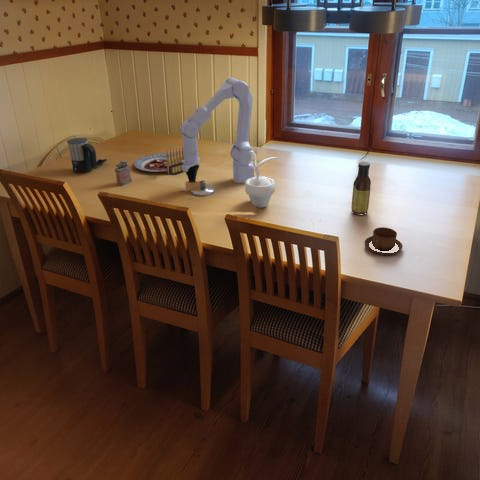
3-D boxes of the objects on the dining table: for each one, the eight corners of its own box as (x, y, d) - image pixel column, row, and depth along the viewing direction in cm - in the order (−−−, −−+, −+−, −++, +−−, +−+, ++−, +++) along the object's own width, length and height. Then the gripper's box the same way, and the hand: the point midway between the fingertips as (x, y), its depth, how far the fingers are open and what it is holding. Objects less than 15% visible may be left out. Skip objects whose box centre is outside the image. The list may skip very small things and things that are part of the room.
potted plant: (243, 210, 185) (242, 147, 174) (247, 198, 196) (246, 138, 184) (276, 211, 184) (277, 148, 172) (278, 200, 194) (279, 139, 182)
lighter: (127, 179, 216) (125, 158, 212) (133, 181, 215) (130, 159, 210) (115, 185, 210) (112, 163, 206) (120, 186, 209) (117, 164, 204)
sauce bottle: (355, 208, 186) (361, 158, 177) (370, 212, 182) (376, 162, 173) (347, 213, 182) (352, 163, 172) (362, 218, 178) (368, 167, 169)
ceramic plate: (180, 176, 220) (179, 170, 218) (126, 174, 224) (126, 168, 222) (193, 158, 242) (193, 153, 241) (145, 156, 246) (144, 151, 245)
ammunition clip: (169, 177, 219) (167, 151, 213) (167, 176, 220) (164, 150, 214) (187, 171, 226) (185, 146, 220) (184, 170, 227) (183, 145, 221)
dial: (215, 186, 204) (215, 177, 202) (214, 196, 196) (213, 185, 194) (187, 187, 205) (186, 177, 203) (184, 196, 196) (184, 186, 194)
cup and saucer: (399, 261, 151) (402, 243, 148) (361, 254, 154) (363, 237, 152) (403, 243, 160) (406, 227, 157) (366, 238, 164) (368, 221, 161)
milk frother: (68, 173, 225) (63, 142, 218) (84, 162, 239) (79, 133, 232) (97, 174, 223) (92, 143, 216) (111, 163, 236) (106, 134, 229)
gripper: (187, 145, 202) (189, 175, 209) (174, 155, 190) (176, 187, 196) (203, 146, 201) (204, 177, 207) (191, 157, 188) (193, 189, 195)
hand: (192, 182), depth 202 cm, fingers closed
